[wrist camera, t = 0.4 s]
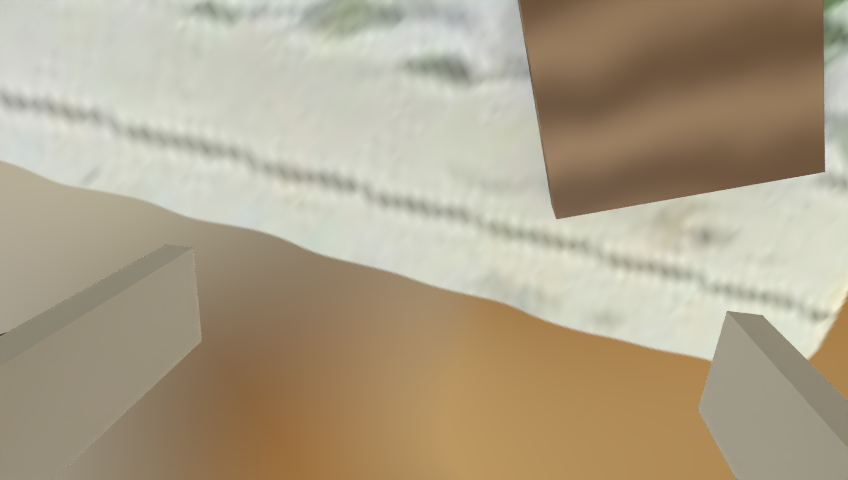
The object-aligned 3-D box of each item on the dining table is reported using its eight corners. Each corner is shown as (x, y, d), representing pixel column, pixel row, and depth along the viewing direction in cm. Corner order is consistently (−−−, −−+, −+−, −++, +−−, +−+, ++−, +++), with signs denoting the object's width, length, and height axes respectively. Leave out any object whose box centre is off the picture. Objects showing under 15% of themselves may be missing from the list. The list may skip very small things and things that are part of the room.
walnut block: (512, -29, 34) (513, -40, 30) (783, -104, 31) (821, -127, 27) (551, 204, 39) (556, 219, 35) (791, 160, 35) (824, 171, 32)
